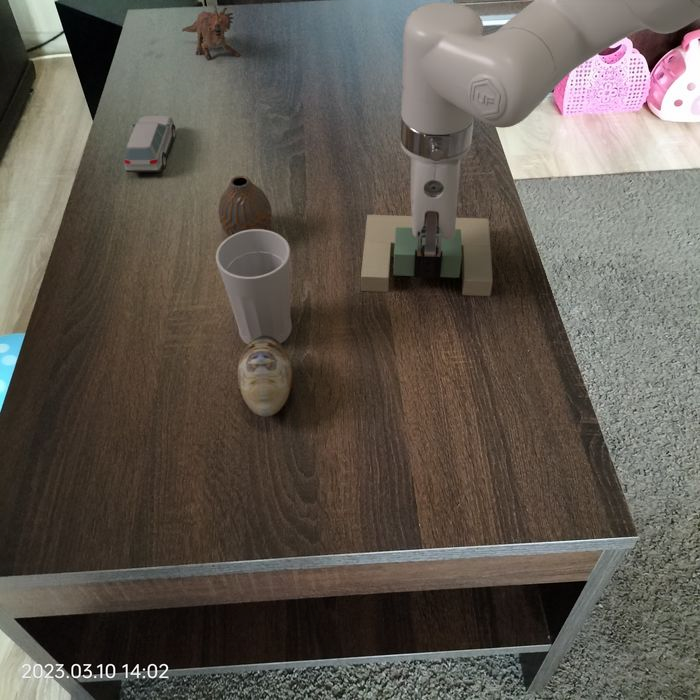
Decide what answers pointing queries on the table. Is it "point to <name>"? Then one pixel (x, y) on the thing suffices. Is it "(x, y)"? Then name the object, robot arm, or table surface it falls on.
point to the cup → (257, 282)
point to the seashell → (265, 375)
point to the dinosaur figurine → (212, 31)
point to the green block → (409, 242)
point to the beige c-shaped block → (384, 227)
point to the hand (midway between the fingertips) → (427, 259)
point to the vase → (244, 207)
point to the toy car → (149, 144)
